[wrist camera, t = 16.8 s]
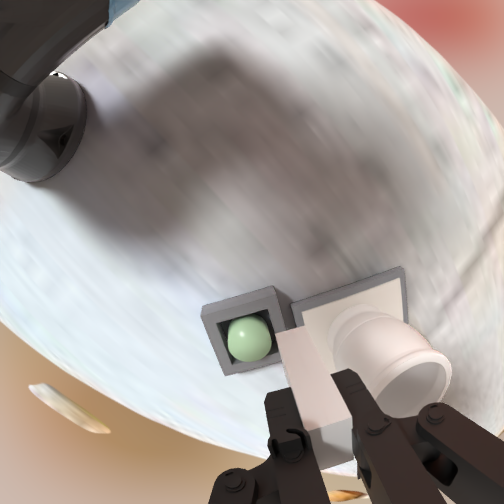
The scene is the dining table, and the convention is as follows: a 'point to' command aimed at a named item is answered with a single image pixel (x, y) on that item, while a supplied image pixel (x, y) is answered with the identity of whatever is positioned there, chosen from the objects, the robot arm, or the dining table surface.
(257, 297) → the button housing
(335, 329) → the jar
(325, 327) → the board
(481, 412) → the dining table surface
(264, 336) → the button
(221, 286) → the dining table surface
